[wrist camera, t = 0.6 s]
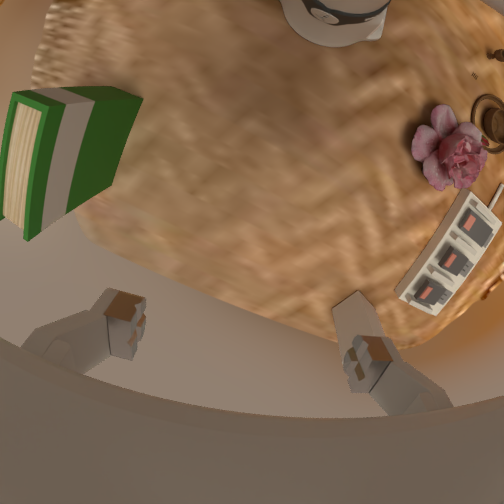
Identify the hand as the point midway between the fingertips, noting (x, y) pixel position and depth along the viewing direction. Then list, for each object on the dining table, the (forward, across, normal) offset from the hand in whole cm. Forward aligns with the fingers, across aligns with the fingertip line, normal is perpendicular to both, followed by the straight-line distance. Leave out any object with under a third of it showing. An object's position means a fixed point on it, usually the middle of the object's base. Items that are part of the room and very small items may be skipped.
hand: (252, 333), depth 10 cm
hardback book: (+42, +27, -2) cm, 50 cm away
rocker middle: (+33, -41, +4) cm, 53 cm away
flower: (+36, -31, -15) cm, 50 cm away
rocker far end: (+34, -39, +12) cm, 54 cm away
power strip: (+37, -44, +1) cm, 57 cm away
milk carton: (+40, -28, +22) cm, 54 cm away
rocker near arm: (+32, -43, -4) cm, 54 cm away
